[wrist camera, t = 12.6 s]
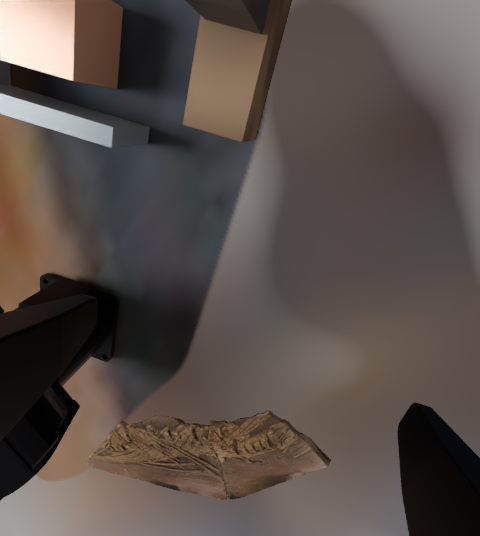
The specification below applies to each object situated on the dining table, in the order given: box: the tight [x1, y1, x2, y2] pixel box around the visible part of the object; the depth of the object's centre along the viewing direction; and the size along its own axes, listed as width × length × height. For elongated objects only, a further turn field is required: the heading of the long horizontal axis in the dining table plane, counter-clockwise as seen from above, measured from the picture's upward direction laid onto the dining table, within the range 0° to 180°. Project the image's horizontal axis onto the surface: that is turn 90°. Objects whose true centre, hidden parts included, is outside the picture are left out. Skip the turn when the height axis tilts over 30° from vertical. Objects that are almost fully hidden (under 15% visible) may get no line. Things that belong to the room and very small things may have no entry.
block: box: [0, 0, 123, 89], centre depth 17 cm, size 4×4×4 cm
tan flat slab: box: [87, 411, 331, 500], centre depth 31 cm, size 26×11×1 cm, turn 105°
